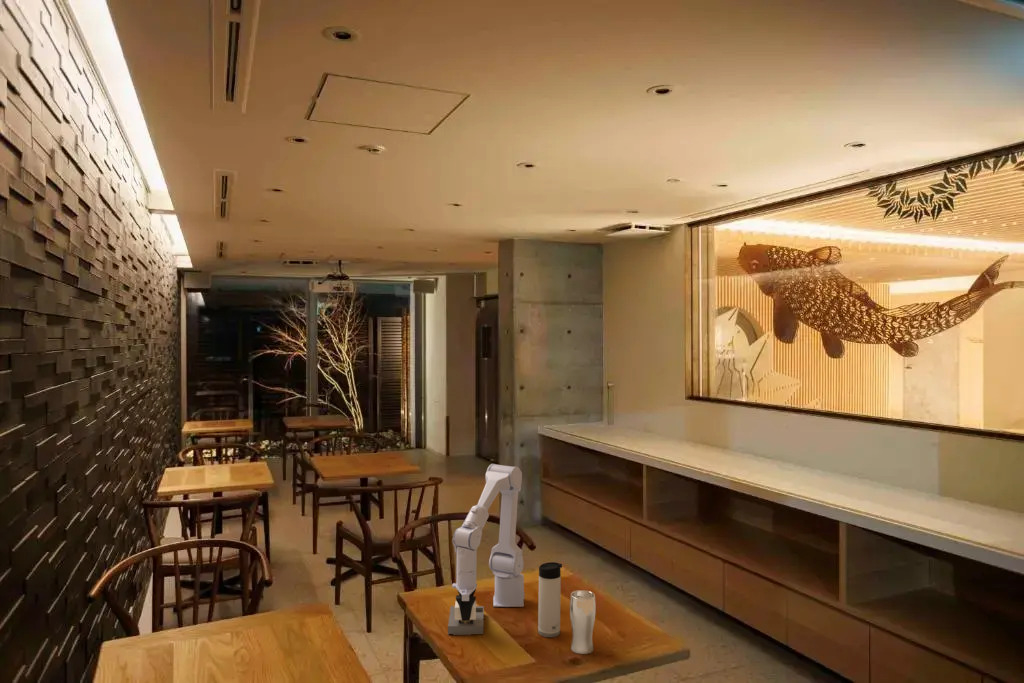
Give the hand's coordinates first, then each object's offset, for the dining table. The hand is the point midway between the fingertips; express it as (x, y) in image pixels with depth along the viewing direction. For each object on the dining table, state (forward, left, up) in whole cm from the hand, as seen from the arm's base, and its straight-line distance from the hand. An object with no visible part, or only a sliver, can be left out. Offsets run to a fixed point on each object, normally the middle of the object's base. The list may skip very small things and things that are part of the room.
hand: (466, 616), depth 203 cm
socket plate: (0, -3, -4) cm, 5 cm away
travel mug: (-24, +3, -4) cm, 24 cm away
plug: (-1, 0, -2) cm, 2 cm away
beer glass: (-32, +13, -4) cm, 35 cm away
